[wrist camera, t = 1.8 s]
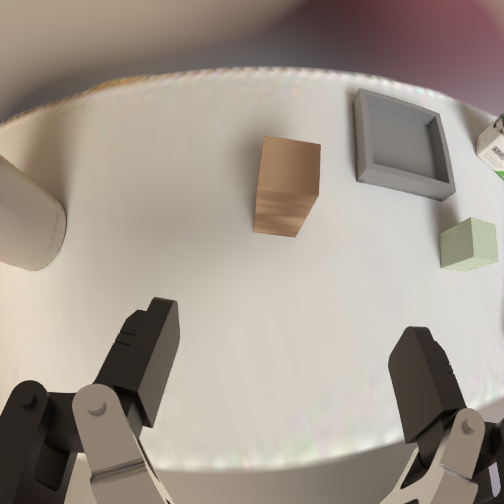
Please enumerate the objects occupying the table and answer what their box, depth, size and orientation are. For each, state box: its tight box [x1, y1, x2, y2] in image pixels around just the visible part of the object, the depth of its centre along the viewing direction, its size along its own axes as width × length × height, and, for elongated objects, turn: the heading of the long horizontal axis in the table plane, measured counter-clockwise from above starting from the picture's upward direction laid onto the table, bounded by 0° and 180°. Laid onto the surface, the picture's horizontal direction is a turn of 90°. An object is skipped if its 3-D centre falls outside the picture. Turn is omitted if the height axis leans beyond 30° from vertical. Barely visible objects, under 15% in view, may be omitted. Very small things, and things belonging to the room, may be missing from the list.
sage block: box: [440, 217, 498, 272], centre depth 26 cm, size 4×4×6 cm
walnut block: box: [254, 136, 321, 237], centre depth 24 cm, size 4×4×10 cm
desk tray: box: [353, 88, 456, 201], centre depth 30 cm, size 12×12×3 cm
